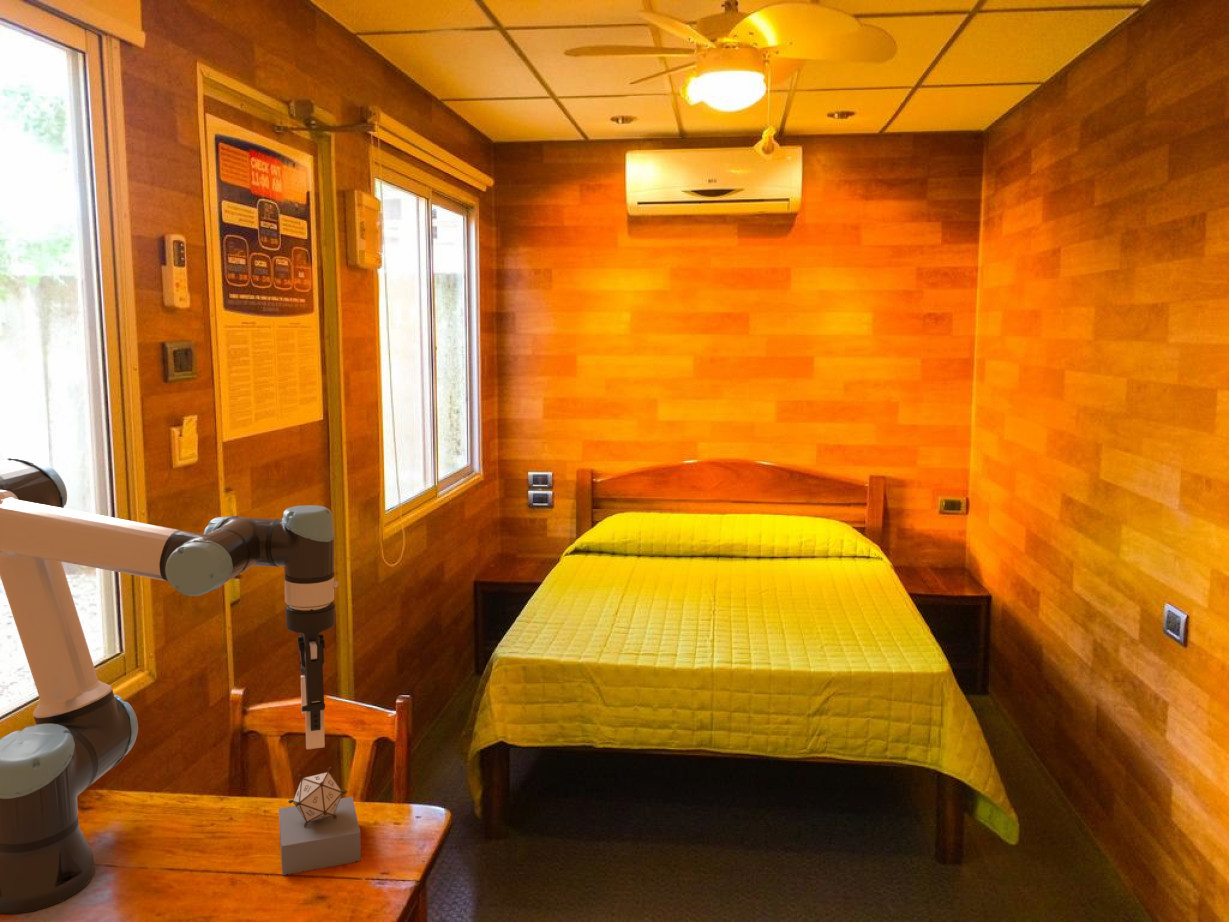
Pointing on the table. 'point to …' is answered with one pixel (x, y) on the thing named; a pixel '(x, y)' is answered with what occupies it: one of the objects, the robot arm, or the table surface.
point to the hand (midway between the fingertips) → (312, 729)
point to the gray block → (319, 839)
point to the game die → (317, 796)
